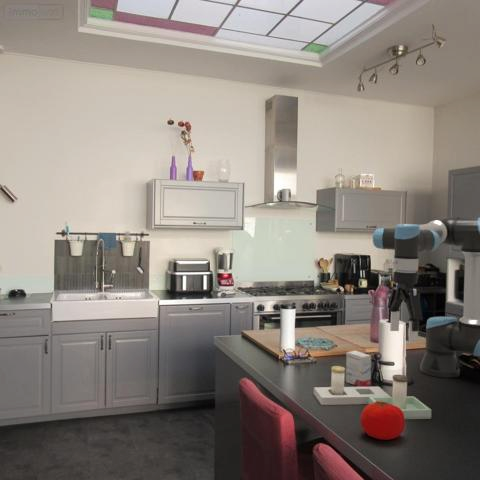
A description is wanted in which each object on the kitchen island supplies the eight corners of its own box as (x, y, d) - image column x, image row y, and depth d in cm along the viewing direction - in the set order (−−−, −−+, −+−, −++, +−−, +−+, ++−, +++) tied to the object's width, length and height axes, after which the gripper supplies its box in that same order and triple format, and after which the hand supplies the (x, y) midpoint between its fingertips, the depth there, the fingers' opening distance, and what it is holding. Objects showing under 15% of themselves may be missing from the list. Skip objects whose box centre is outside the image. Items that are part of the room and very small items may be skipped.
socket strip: (378, 393, 179) (379, 363, 179) (389, 403, 169) (391, 371, 169) (313, 394, 176) (314, 363, 176) (321, 404, 166) (322, 372, 166)
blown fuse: (402, 407, 165) (403, 374, 164) (408, 412, 160) (410, 379, 160) (389, 407, 164) (390, 374, 164) (395, 412, 160) (396, 379, 159)
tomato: (410, 444, 138) (412, 408, 138) (366, 445, 137) (367, 408, 137) (395, 427, 150) (396, 394, 149) (354, 428, 149) (355, 394, 148)
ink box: (371, 386, 186) (372, 355, 186) (361, 388, 184) (363, 357, 183) (354, 379, 194) (355, 350, 193) (344, 381, 191) (346, 351, 190)
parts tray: (413, 404, 169) (413, 396, 169) (431, 418, 157) (431, 409, 157) (368, 405, 167) (368, 397, 167) (382, 419, 155) (383, 410, 155)
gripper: (379, 267, 173) (377, 327, 174) (412, 276, 149) (410, 345, 150) (399, 267, 174) (397, 326, 175) (436, 276, 150) (433, 345, 151)
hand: (403, 335), depth 163 cm, fingers open, 13 cm apart
